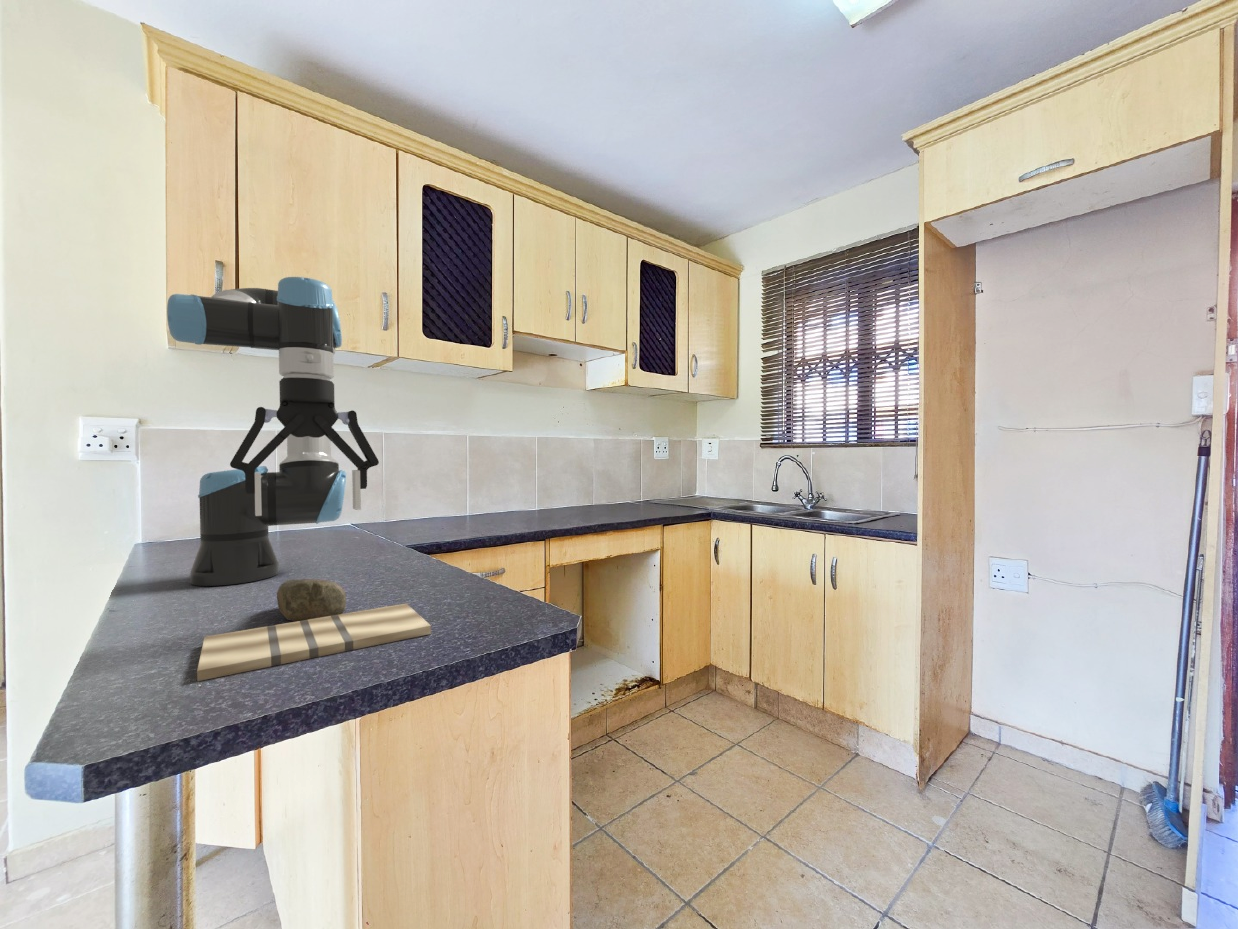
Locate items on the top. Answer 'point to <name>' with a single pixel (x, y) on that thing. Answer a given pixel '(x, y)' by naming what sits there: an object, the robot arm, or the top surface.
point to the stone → (310, 599)
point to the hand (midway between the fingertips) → (309, 512)
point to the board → (306, 639)
